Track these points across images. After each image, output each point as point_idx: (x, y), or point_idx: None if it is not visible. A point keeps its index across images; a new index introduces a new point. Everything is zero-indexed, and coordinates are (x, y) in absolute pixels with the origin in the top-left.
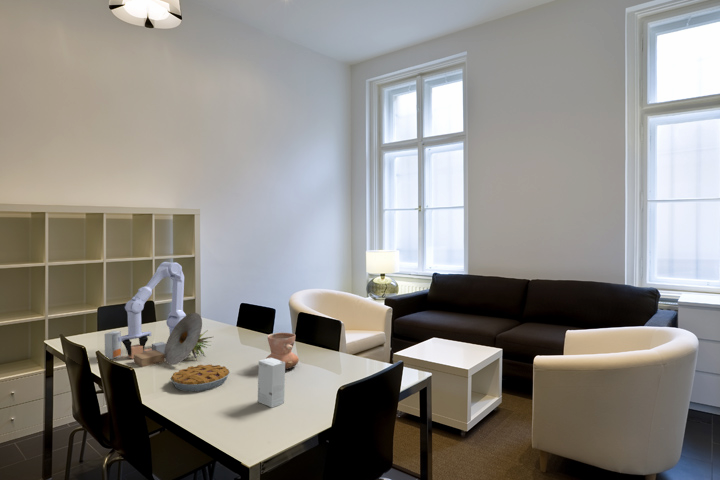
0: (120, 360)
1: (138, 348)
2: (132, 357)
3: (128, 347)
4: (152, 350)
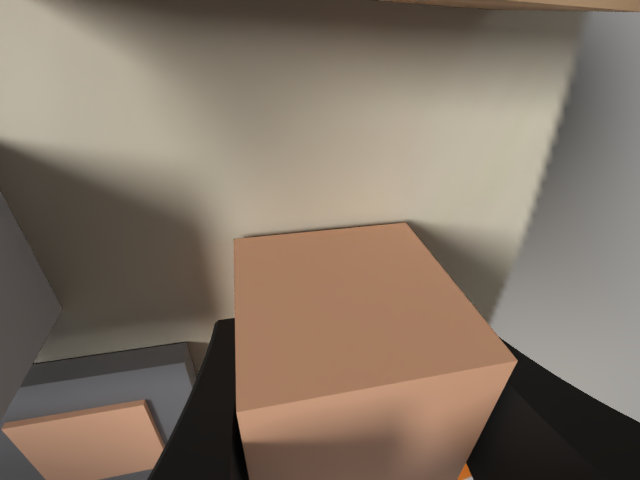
0: (499, 270)
1: (352, 354)
2: (410, 235)
3: (585, 397)
4: (20, 343)
